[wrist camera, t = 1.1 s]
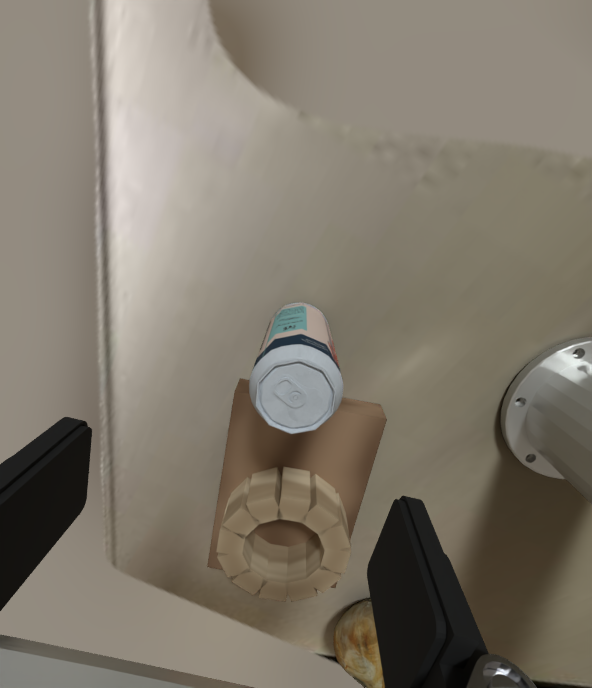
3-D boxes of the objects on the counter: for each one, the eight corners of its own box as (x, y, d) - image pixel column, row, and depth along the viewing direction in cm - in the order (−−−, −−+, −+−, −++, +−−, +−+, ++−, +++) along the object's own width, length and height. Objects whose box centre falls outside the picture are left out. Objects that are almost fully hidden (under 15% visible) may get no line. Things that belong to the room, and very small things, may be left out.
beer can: (300, 370, 30) (298, 458, 19) (256, 332, 29) (225, 400, 18) (341, 328, 29) (366, 395, 17) (296, 288, 28) (291, 330, 17)
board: (380, 404, 31) (397, 445, 25) (333, 564, 36) (338, 627, 31) (240, 378, 30) (225, 413, 25) (213, 544, 36) (196, 604, 30)
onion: (422, 606, 38) (452, 702, 30) (366, 644, 40) (380, 743, 32) (372, 567, 36) (391, 657, 29) (316, 608, 38) (319, 703, 31)
